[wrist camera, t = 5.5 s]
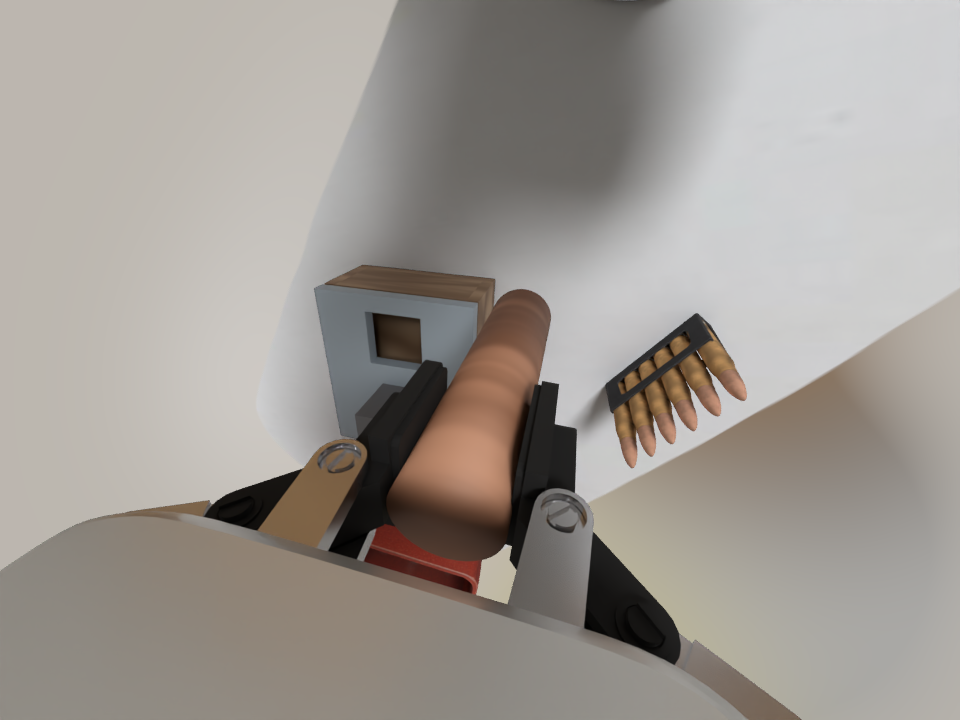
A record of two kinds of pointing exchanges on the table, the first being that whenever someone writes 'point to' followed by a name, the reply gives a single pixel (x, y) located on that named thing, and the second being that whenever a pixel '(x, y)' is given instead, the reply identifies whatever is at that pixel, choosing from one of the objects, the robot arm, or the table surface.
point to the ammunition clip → (670, 386)
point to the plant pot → (421, 561)
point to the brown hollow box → (404, 333)
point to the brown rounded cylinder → (475, 439)
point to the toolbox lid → (353, 348)
